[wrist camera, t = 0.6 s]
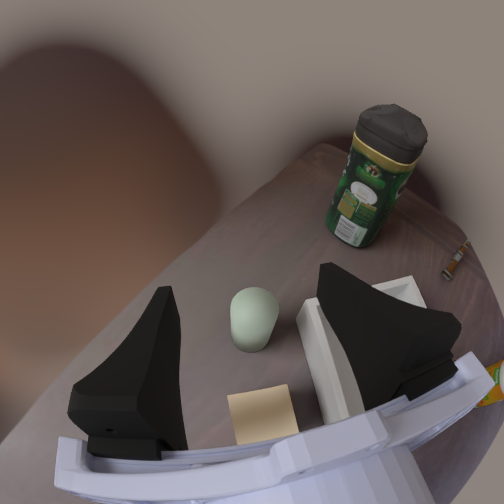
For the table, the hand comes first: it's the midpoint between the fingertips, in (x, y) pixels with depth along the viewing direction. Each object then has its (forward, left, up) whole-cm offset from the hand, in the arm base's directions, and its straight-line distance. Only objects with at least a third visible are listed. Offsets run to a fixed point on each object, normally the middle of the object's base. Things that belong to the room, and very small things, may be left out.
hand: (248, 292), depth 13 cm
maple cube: (-6, -1, -16) cm, 17 cm away
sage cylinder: (+3, -2, -16) cm, 17 cm away
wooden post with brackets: (+6, -35, -17) cm, 39 cm away
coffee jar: (+16, -20, -16) cm, 30 cm away
